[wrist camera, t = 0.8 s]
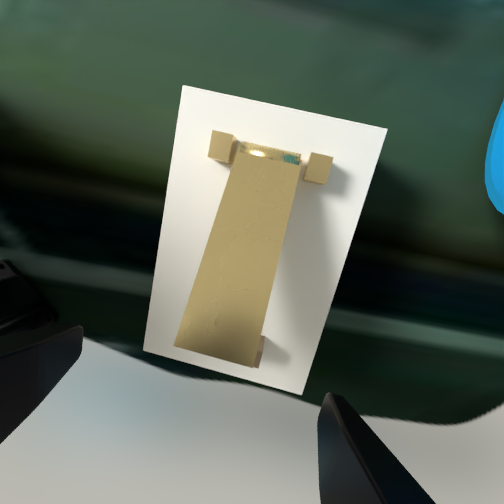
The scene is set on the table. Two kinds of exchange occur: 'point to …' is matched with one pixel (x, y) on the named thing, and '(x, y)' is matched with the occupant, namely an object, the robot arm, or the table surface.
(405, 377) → the table surface
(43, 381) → the robot arm
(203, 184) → the box
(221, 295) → the brass clasp lever
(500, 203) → the alarm clock
